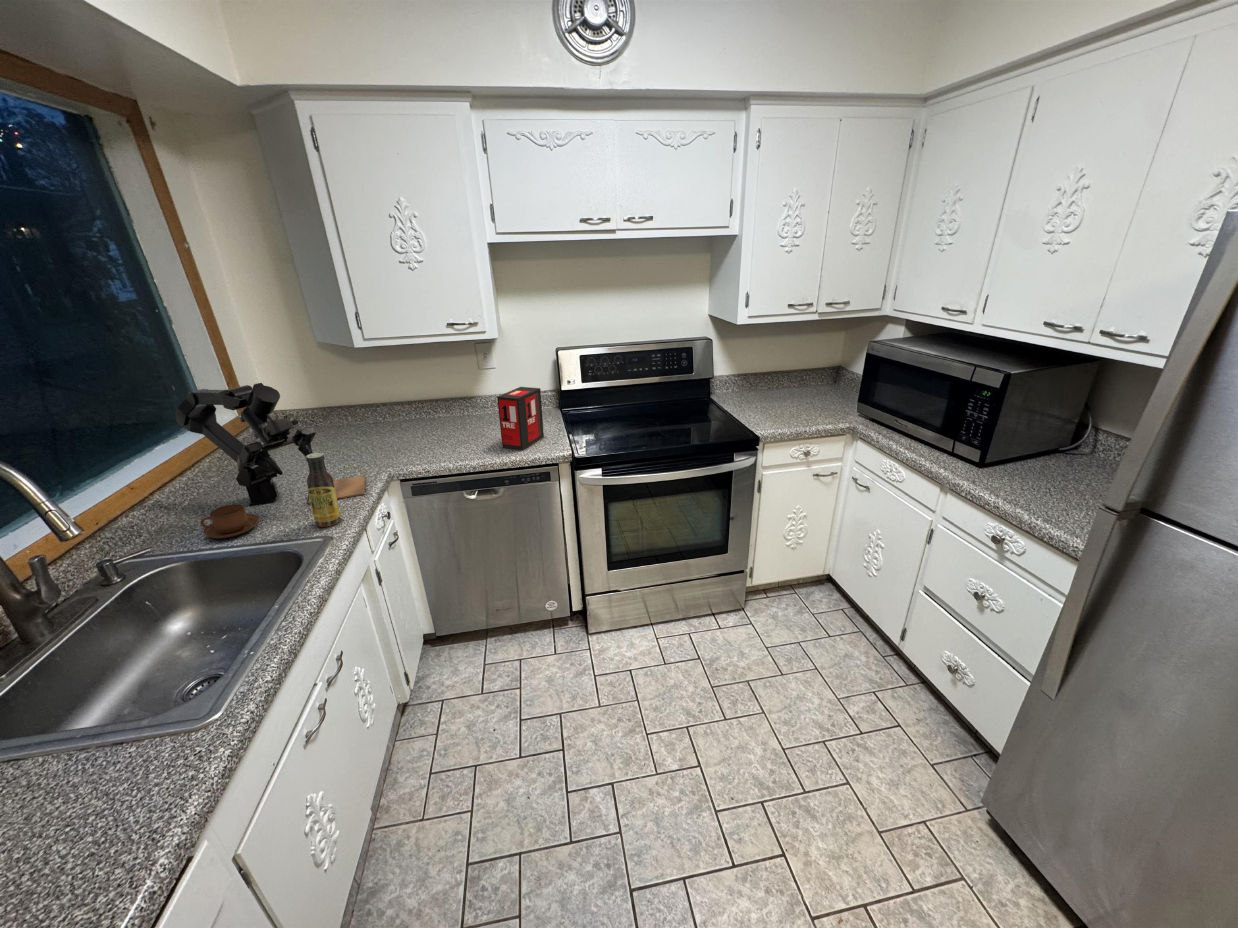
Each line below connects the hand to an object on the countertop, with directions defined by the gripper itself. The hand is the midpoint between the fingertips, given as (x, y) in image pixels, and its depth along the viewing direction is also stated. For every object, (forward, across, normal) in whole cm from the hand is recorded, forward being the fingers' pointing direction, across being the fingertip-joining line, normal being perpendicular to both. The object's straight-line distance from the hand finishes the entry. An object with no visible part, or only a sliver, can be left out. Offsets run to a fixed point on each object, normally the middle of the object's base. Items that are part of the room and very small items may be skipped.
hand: (298, 468), depth 139 cm
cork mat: (+5, +14, +14) cm, 20 cm away
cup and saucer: (+4, -16, +16) cm, 23 cm away
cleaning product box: (+24, +74, -5) cm, 78 cm away
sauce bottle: (+17, -2, +2) cm, 18 cm away
